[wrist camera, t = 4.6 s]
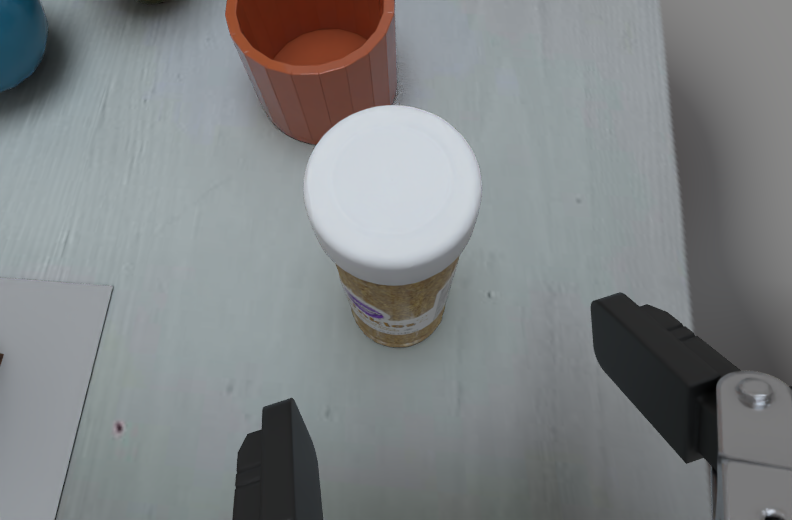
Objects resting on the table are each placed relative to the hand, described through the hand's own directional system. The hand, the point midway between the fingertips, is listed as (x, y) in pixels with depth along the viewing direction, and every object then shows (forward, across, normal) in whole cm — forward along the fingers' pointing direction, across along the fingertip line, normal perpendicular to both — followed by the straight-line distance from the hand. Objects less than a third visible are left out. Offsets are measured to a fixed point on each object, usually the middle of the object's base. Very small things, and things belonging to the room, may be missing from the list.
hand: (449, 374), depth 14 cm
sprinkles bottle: (+12, 0, +5) cm, 12 cm away
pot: (+21, 0, -5) cm, 21 cm away
